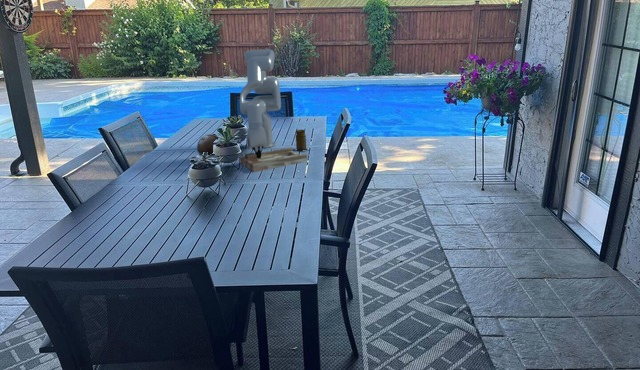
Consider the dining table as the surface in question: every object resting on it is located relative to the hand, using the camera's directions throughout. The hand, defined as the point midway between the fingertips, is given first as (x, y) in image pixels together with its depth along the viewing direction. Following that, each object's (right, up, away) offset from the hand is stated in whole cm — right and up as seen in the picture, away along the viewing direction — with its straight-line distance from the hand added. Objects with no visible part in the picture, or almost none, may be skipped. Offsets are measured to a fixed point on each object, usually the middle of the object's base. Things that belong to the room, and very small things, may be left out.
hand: (258, 158), depth 269 cm
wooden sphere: (-29, -1, +12) cm, 31 cm away
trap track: (+8, -2, +1) cm, 9 cm away
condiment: (+23, +6, +24) cm, 34 cm away
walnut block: (-4, -2, -2) cm, 5 cm away
